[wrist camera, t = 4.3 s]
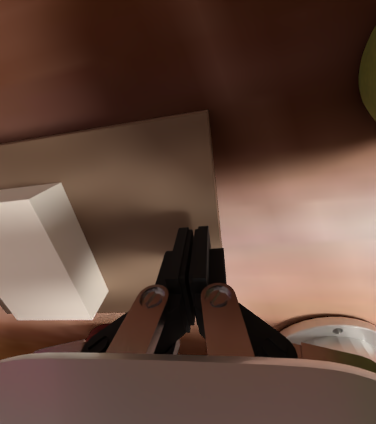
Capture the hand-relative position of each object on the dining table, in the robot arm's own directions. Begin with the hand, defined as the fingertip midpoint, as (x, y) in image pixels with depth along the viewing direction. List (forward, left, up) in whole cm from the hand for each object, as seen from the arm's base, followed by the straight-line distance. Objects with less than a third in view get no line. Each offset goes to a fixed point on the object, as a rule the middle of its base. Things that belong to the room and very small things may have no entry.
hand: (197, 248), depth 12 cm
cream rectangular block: (0, +11, -1) cm, 11 cm away
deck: (0, +9, -5) cm, 10 cm away
